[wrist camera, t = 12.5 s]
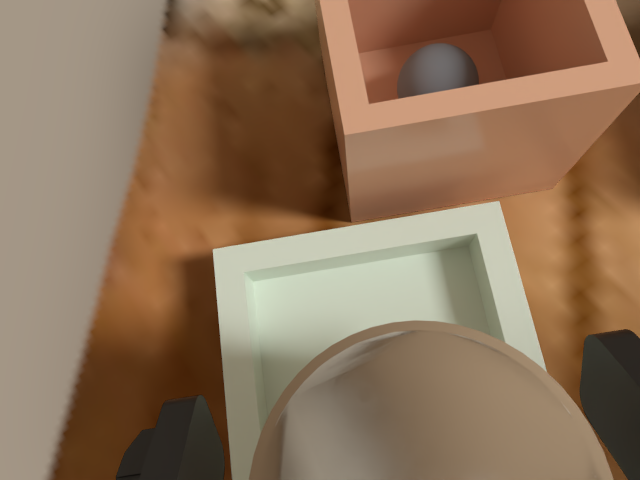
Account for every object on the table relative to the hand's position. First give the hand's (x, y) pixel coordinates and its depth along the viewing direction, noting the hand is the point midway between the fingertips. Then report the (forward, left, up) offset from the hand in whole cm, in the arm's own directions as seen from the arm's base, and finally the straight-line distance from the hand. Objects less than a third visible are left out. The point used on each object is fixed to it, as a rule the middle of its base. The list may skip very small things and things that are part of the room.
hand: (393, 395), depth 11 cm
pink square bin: (-4, -11, -8) cm, 14 cm away
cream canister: (0, +1, -7) cm, 7 cm away
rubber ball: (-4, -11, -7) cm, 13 cm away
